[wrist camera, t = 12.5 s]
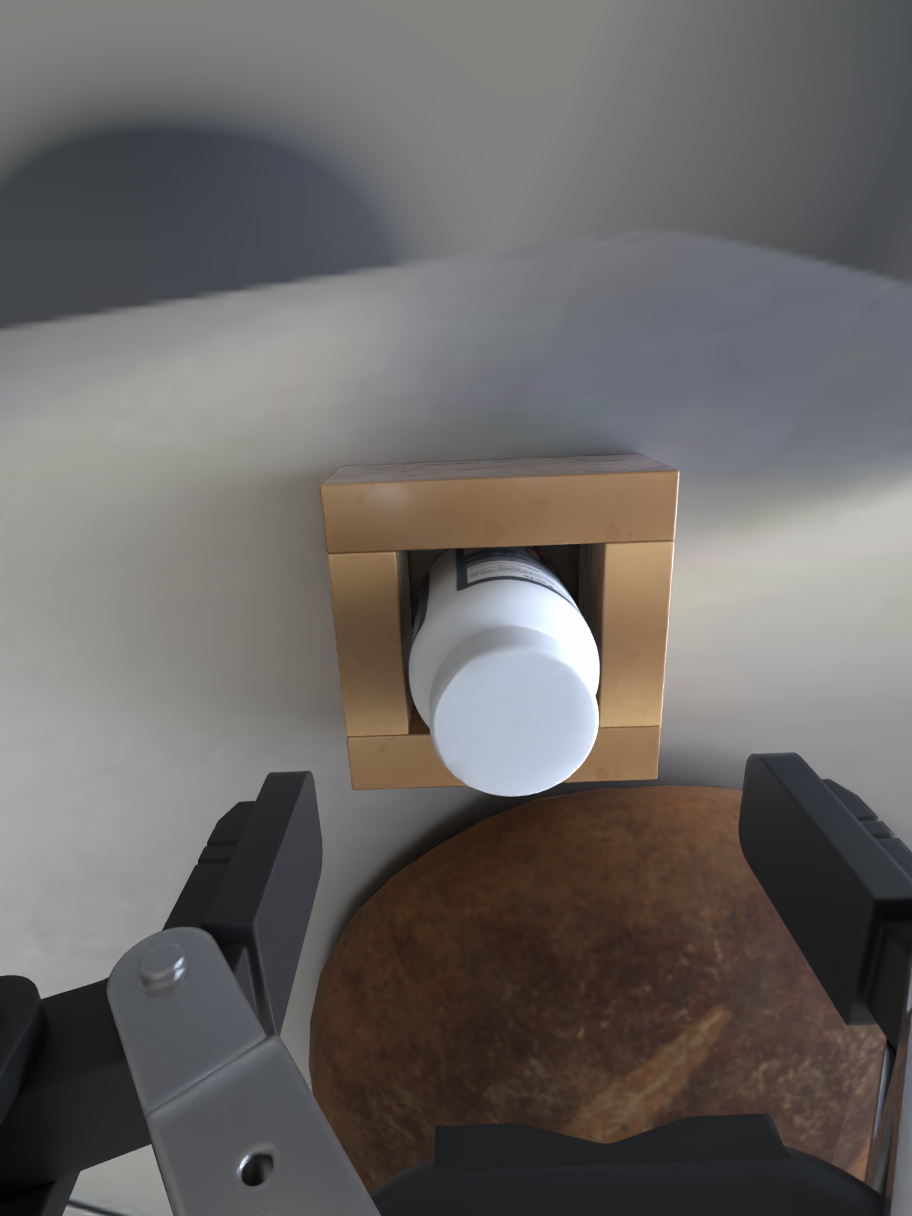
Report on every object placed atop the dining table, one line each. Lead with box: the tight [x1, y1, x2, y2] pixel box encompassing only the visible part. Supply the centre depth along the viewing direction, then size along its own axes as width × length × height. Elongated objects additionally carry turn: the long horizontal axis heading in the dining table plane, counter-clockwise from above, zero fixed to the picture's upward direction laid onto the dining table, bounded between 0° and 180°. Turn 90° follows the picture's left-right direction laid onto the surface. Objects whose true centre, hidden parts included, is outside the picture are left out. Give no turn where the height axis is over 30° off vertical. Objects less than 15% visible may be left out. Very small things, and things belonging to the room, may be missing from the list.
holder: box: [320, 454, 680, 790], centre depth 22 cm, size 10×10×4 cm
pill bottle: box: [409, 546, 599, 796], centre depth 19 cm, size 5×5×9 cm
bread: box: [309, 785, 887, 1195], centre depth 26 cm, size 28×27×9 cm
